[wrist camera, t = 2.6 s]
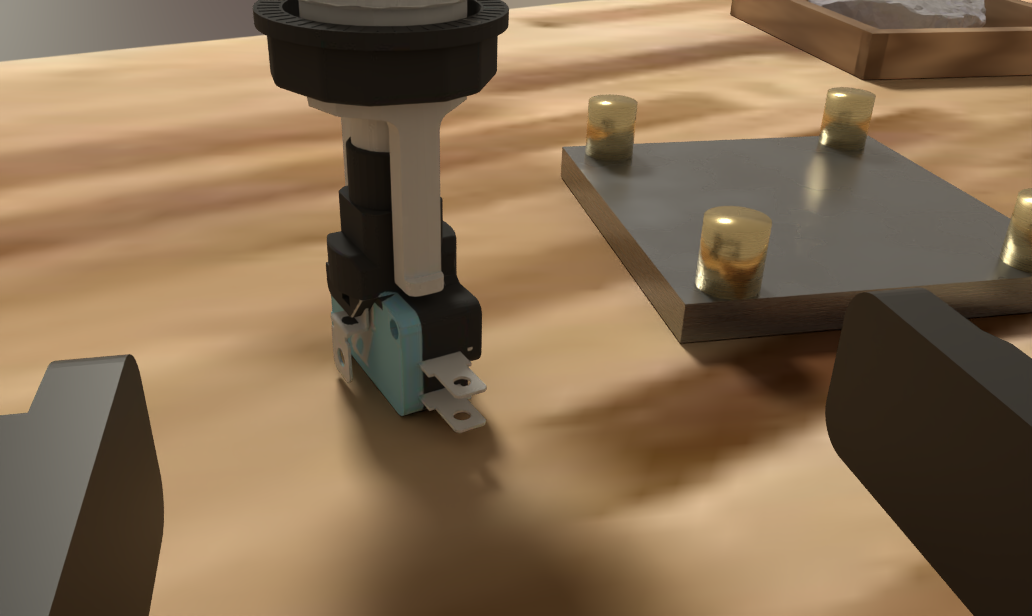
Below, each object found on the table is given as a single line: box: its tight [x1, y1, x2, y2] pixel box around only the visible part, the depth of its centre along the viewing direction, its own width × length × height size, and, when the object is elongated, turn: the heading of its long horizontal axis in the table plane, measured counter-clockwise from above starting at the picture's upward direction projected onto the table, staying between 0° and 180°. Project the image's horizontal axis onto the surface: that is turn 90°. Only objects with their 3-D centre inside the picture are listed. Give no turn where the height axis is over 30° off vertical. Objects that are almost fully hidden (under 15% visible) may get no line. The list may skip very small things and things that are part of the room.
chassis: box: [561, 87, 1032, 343], centre depth 31 cm, size 13×13×3 cm
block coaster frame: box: [730, 0, 1032, 80], centre depth 60 cm, size 16×18×2 cm
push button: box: [253, 0, 509, 433], centre depth 21 cm, size 7×5×10 cm
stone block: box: [808, 0, 986, 29], centre depth 61 cm, size 12×5×10 cm
